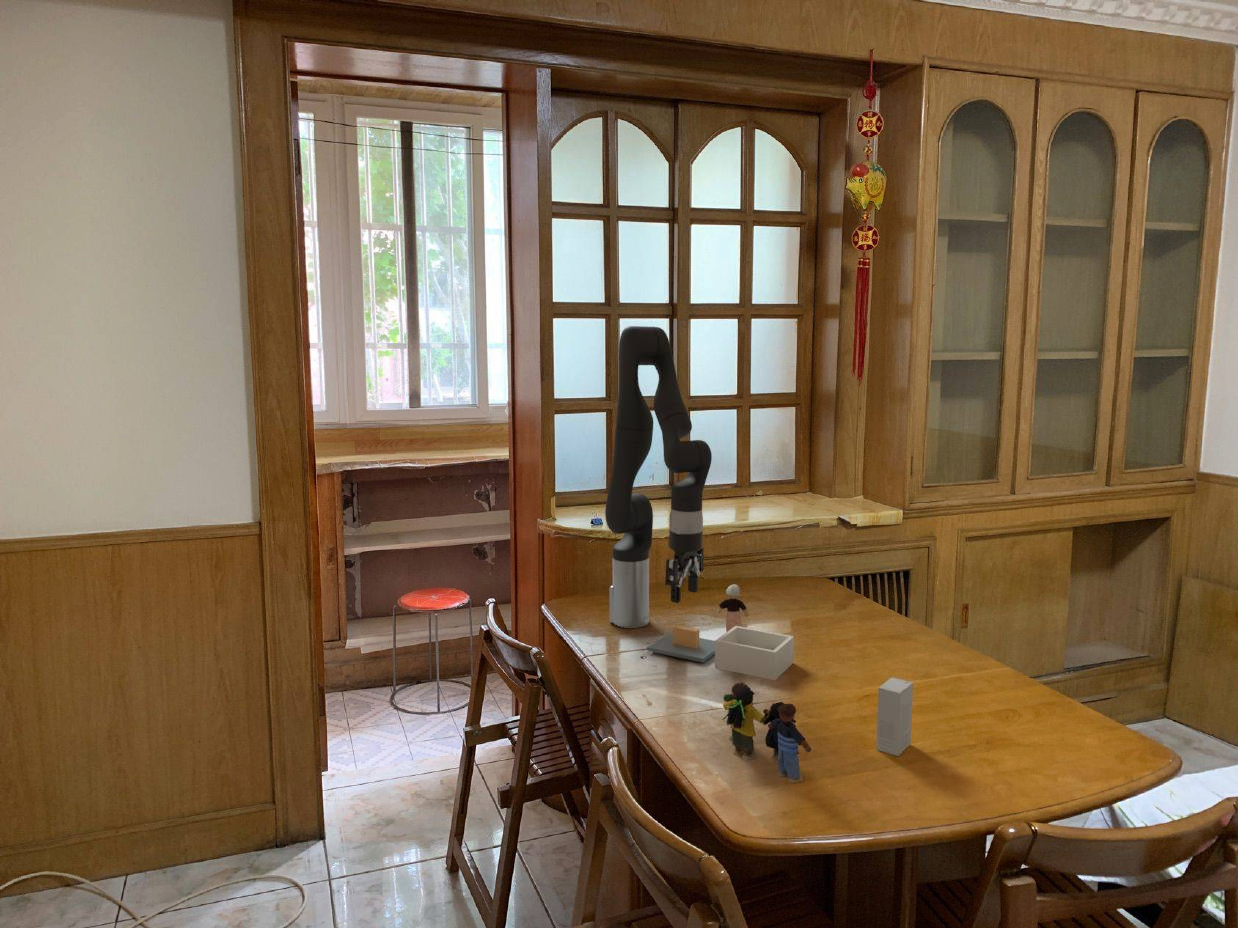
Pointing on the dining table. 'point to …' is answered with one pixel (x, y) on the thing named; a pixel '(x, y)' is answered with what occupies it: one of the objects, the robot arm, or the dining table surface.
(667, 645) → the lid
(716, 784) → the dining table surface
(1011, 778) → the dining table surface
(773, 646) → the small white cabinet
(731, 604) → the grandmother figurine
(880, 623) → the dining table surface
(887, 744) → the skincare box
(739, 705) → the doll family
